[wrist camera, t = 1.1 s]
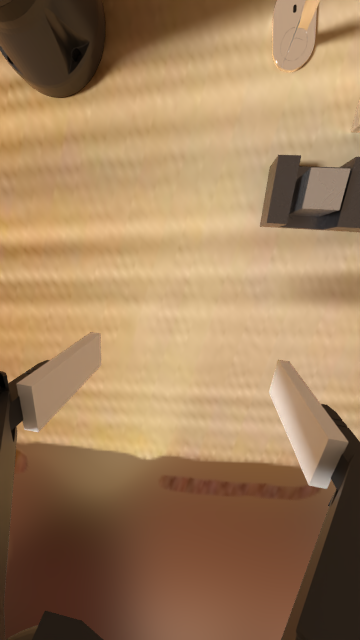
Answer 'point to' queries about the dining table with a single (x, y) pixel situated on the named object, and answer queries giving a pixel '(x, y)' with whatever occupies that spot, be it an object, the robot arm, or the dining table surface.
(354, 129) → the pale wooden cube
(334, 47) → the dining table surface
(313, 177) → the light grey cube
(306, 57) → the stand
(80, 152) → the dining table surface
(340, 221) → the rail
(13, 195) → the dining table surface
